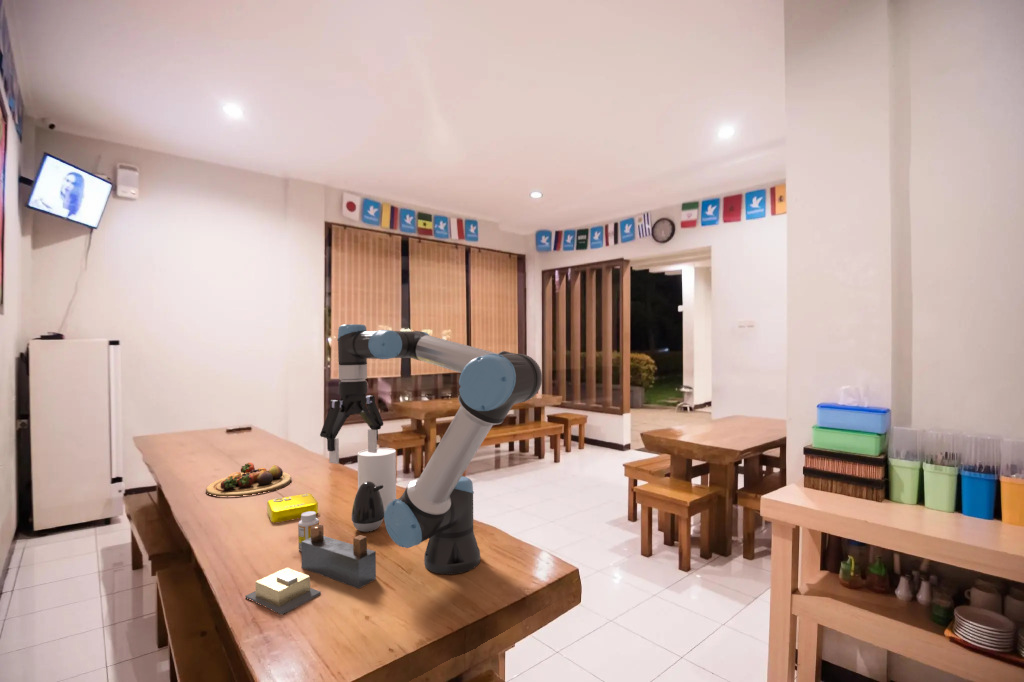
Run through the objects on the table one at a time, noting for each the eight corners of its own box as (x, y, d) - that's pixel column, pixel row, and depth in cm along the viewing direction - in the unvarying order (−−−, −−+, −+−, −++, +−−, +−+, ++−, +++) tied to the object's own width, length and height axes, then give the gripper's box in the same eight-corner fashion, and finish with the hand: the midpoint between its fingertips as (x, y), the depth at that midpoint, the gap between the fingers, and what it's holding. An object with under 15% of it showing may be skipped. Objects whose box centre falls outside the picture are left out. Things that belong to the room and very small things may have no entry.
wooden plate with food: (218, 480, 212) (218, 461, 212) (296, 472, 222) (295, 455, 222) (194, 504, 182) (193, 483, 182) (285, 494, 191) (284, 474, 191)
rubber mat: (320, 594, 113) (320, 591, 113) (281, 615, 104) (281, 612, 104) (284, 579, 120) (284, 577, 120) (245, 598, 111) (245, 595, 111)
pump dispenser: (375, 536, 147) (375, 487, 147) (345, 534, 149) (344, 485, 149) (390, 524, 157) (390, 478, 157) (361, 522, 159) (361, 476, 159)
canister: (398, 509, 171) (398, 453, 171) (359, 514, 166) (358, 457, 166) (393, 498, 183) (393, 446, 183) (356, 502, 178) (356, 449, 178)
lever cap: (310, 590, 113) (310, 572, 113) (278, 606, 106) (278, 587, 106) (287, 581, 118) (286, 564, 118) (255, 596, 111) (255, 578, 111)
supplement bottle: (321, 544, 141) (321, 509, 141) (315, 552, 136) (315, 516, 136) (302, 545, 141) (302, 510, 141) (295, 553, 135) (295, 517, 135)
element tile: (271, 525, 158) (271, 510, 158) (266, 512, 171) (266, 498, 171) (319, 515, 166) (319, 502, 166) (310, 503, 179) (310, 491, 179)
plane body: (375, 579, 120) (375, 535, 120) (358, 588, 115) (358, 543, 115) (319, 559, 131) (319, 519, 131) (301, 567, 126) (301, 526, 126)
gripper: (376, 377, 143) (377, 447, 143) (304, 383, 121) (306, 466, 121) (394, 377, 140) (396, 449, 139) (324, 384, 118) (326, 469, 117)
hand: (354, 457), depth 130 cm, fingers open, 13 cm apart
